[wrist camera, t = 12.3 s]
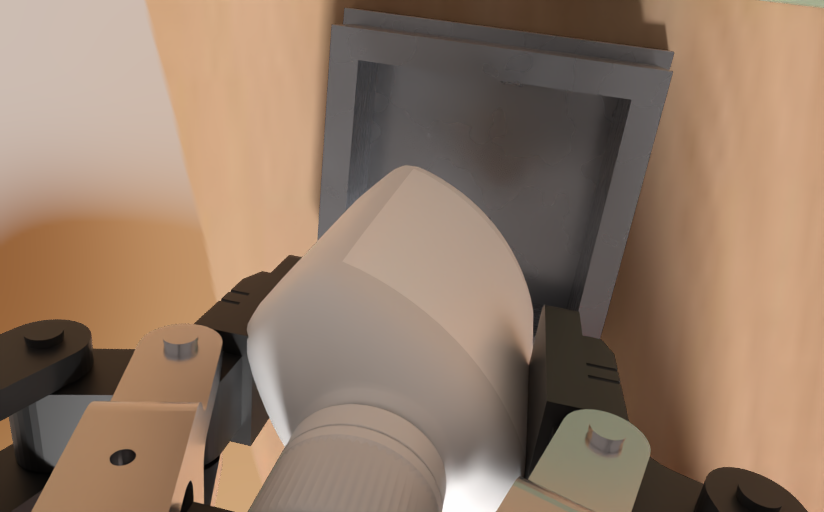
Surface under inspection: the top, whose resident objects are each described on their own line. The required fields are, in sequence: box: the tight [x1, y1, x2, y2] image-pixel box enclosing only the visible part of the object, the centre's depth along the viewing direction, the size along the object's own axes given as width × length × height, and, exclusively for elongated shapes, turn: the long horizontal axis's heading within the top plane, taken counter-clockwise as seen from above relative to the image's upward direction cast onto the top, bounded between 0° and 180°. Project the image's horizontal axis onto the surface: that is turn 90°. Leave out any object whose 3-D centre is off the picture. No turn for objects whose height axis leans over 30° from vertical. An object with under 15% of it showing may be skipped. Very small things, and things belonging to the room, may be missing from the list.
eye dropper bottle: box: [247, 165, 533, 512], centre depth 11 cm, size 4×6×12 cm
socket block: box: [318, 8, 674, 345], centre depth 24 cm, size 12×12×4 cm
